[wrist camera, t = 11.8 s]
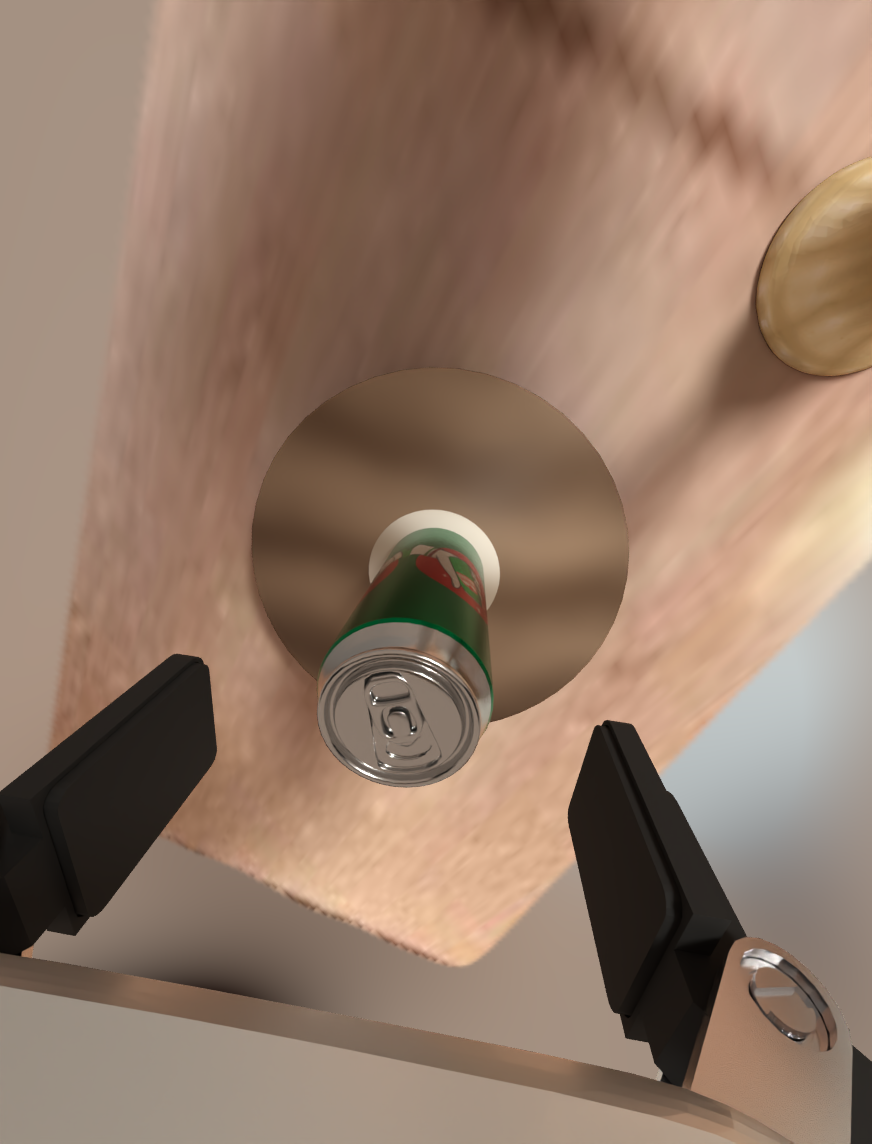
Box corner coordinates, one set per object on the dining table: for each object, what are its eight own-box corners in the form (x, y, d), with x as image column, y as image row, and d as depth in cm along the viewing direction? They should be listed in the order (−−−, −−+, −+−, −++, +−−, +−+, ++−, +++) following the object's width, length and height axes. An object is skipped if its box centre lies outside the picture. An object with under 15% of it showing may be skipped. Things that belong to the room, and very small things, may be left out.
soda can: (402, 622, 23) (336, 808, 12) (376, 536, 22) (274, 656, 10) (491, 605, 22) (512, 788, 11) (472, 515, 21) (472, 620, 10)
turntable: (259, 348, 21) (243, 342, 19) (667, 397, 20) (683, 395, 18) (268, 686, 27) (256, 702, 26) (571, 733, 27) (577, 751, 25)
